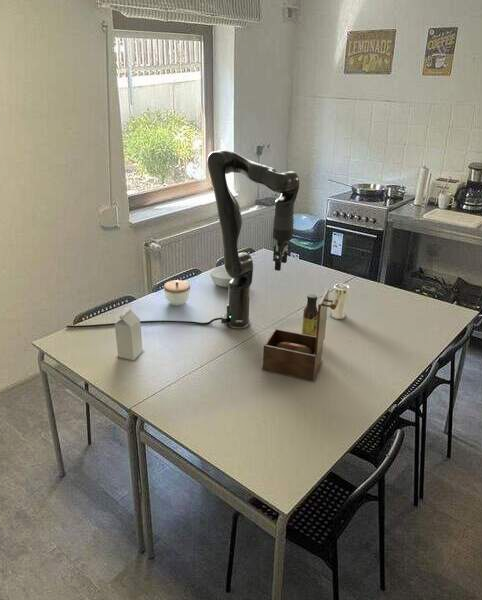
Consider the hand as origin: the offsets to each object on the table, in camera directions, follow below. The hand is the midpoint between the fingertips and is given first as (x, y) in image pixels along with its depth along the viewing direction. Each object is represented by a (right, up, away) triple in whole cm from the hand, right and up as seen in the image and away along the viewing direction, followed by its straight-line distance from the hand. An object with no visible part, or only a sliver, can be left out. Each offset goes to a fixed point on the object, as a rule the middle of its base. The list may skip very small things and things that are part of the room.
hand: (280, 266), depth 191 cm
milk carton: (-60, -35, +5) cm, 69 cm away
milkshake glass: (+30, -21, +36) cm, 52 cm away
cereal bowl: (-22, -5, +67) cm, 71 cm away
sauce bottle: (+14, -30, +18) cm, 37 cm away
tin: (+5, -38, -1) cm, 38 cm away
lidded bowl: (-45, -14, +47) cm, 67 cm away
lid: (+13, -21, -14) cm, 28 cm away
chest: (+4, -39, -1) cm, 39 cm away
